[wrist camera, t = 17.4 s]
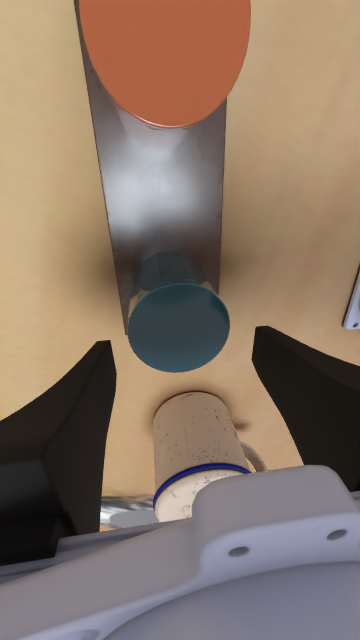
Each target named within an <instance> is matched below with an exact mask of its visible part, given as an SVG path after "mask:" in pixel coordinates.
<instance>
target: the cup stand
mask: <svg viewBox="0 0 360 640" xmlns="http://www.w3.org/2000/svg"><path fill="white" fill-rule="evenodd" d="M74 6H75V12H76V19H77V25H78V31H79V38H80V44H81V51H82V57H83V64H84V70H85V77H86V83H87V90H88V96H89V103H90V109H91V115H92V122H93V128H94V135H95V141H96V148H97V154H98V161H99V167H100V174H101V180H102V186H103V193H104V199H105V206H106V212H107V219H108V225H109V232H110V238H111V245H112V251H113V257H114V264H115V270H116V277H117V283H118V290H119V296H120V303H121V309H122V316H123V322H124V329H125V335H128V332H127V329H128V314H129V306H130V298H131V289H132V281H133V279H134V276H135V274H136V272H137V270H138V268H139V266H140V264H141V263H142V262H144V261H145V260H147V259H148V258H150V257H151V256H153V255H154V254H156V253H159V252H180V253H181V254H183V255H185V256H187V257H189V258H191V259H193V260H194V261H195V262H196V263H197V265H198V266H199V268H200V269H201V271H202V272H203V274H204V275H205V277H206V278H207V280H208V281H209V283H210V284H211V286H212V287H213V289H214V290H215V292H216V294H217V295H218V296H219V274H220V250H221V225H222V201H223V177H224V153H225V129H226V104H227V97H226V98H225V100H224V101H223V102H222V104H221V105H220V107H219V108H218V109H217V110H216V111H215V112H214V113H213V114H212V115H211V116H210V117H209V118H208V119H207V120H206V121H205V122H204V123H203V124H202V125H201V126H200V127H199V128H198V129H197V130H196V131H195V132H194V133H193V134H192V135H191V136H189V137H188V138H187V139H185V140H184V141H183V142H181V143H180V144H178V145H177V146H176V147H173V148H158V149H150V148H148V147H146V146H144V145H143V144H141V143H140V142H138V141H136V140H135V139H133V138H132V137H130V136H129V135H127V134H126V132H125V131H124V129H123V127H122V126H121V124H120V122H119V121H118V119H117V117H116V115H115V114H114V112H113V110H112V109H111V107H110V104H109V102H108V100H107V97H106V95H105V93H104V91H103V88H102V86H101V84H100V81H99V79H98V77H97V74H96V72H95V70H94V68H93V65H92V63H91V60H90V56H89V53H88V50H87V47H86V43H85V40H84V36H83V31H82V26H81V19H80V10H79V0H74Z"/></svg>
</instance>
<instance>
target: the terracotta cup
mask: <svg viewBox="0 0 360 640" xmlns="http://www.w3.org/2000/svg"><path fill="white" fill-rule="evenodd" d="M79 10H80V19H81V26H82V31H83V36H84V40H85V43H86V47H87V50H88V53H89V56H90V60H91V63H92V65H93V68H94V70H95V72H96V74H97V77H98V79H99V81H100V84H101V86H102V88H103V91H104V93H105V95H106V97H107V100H108V102H109V104H110V107H111V109H112V110H113V112H114V114H115V115H116V117H117V119H118V121H119V122H120V124H121V126H122V127H123V129H124V131H125V132H126V134H127V135H129V136H130V137H132V138H133V139H135V140H136V141H138V142H140V143H141V144H143V145H144V146H146V147H148V148H150V149H158V148H173V147H176V146H177V145H178V144H180V143H181V142H183V141H184V140H185V139H187V138H188V137H189V136H191V135H192V134H193V133H194V132H195V131H196V130H197V129H198V128H199V127H200V126H201V125H202V124H203V123H204V122H205V121H206V120H207V119H208V118H209V117H210V116H211V115H212V114H213V113H214V112H215V111H216V110H217V109H218V108H219V107H220V105H221V104H222V102H223V101H224V100H225V98H226V97H227V96H228V94H229V93H230V91H231V90H232V88H233V86H234V84H235V82H236V80H237V78H238V76H239V73H240V71H241V69H242V66H243V62H244V59H245V56H246V51H247V47H248V42H249V34H250V23H251V5H250V0H79Z"/></svg>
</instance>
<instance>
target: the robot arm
mask: <svg viewBox="0 0 360 640" xmlns="http://www.w3.org/2000/svg"><path fill="white" fill-rule="evenodd" d="M354 323H355V324H354ZM353 324H354V325H353ZM343 326H344V328H346V329H348V330H350V329H360V272H359V275H358V278H357V282H356V285H355V288H354V292H353V295H352V298H351V301H350V305H349V308H348V311H347V314H346V318H345V321H344V325H343ZM252 362H253V364H254V367H255V369H256V372H257V374H258V376H259V378H260V380H261V382H262V383H263V385H264V387H265V388H266V390H267V392H268V393H269V395H270V397H271V398H272V400H273V402H274V403H275V405H276V406H277V408H278V410H279V411H280V413H281V415H282V417H283V419H284V421H285V423H286V425H287V427H288V429H289V431H290V433H291V436H292V438H293V440H294V442H295V445H296V447H297V449H298V452H299V454H300V456H301V458H302V461H303V463H304V465H303V466H297V467H290V468H283V469H276V470H269V471H262V472H255V473H248V474H242V475H235V476H228V477H225V478H222V479H218V480H215V481H212V482H210V483H209V484H208V485H206V486H205V487H203V488H202V489H201V490H199V491H198V493H197V494H196V496H195V499H194V501H193V503H192V517H190V518H185V519H179V520H172V521H166V522H160V523H154V524H147V525H141V526H135V527H129V528H122V529H116V530H109V531H103V532H99V530H100V511H101V495H102V481H103V468H104V457H105V446H106V439H107V432H108V427H109V422H110V418H111V413H112V408H113V402H114V397H115V392H116V376H117V373H116V368H115V363H114V357H113V352H112V347H111V341H110V340H105V341H97V342H96V343H95V344H94V345H93V346H92V347H91V349H90V350H89V351H88V352H87V353H86V354H85V355H84V356H83V357H82V359H81V360H80V361H79V362H78V363H77V364H76V365H75V366H74V367H73V368H72V369H71V370H70V371H69V372H68V373H67V374H66V375H65V376H63V377H62V378H61V379H60V380H59V381H58V382H57V383H56V384H54V385H53V386H52V387H51V388H49V389H48V390H47V391H46V392H44V393H43V394H42V395H40V396H39V397H37V398H36V399H34V400H33V401H32V402H30V403H29V404H27V405H26V406H24V407H23V408H21V409H20V410H18V411H16V412H15V413H13V414H11V415H10V416H8V417H6V418H5V419H3V420H1V421H0V640H360V366H357V365H354V364H351V363H348V362H345V361H343V360H340V359H337V358H335V357H332V356H329V355H327V354H325V353H322V352H320V351H318V350H316V349H314V348H311V347H309V346H307V345H305V344H303V343H301V342H299V341H297V340H295V339H293V338H291V337H289V336H288V335H286V334H284V333H282V332H280V331H278V330H276V329H274V328H272V327H269V326H258V327H256V328H255V336H254V345H253V353H252Z"/></svg>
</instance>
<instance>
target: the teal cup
mask: <svg viewBox="0 0 360 640" xmlns="http://www.w3.org/2000/svg"><path fill="white" fill-rule="evenodd" d="M229 329H230V320H229V314H228V311H227V309H226V307H225V305H224V303H223V302H222V300H221V299H220V297H219V296H218V295H217V294H216V292H215V290H214V289H213V287H212V286H211V284H210V283H209V281H208V280H207V278H206V277H205V275H204V274H203V272H202V271H201V269H200V268H199V266H198V265H197V263H196V262H195V261H194V260H193V259H191V258H189V257H187V256H185V255H183V254H181V253H180V252H159V253H156V254H154V255H153V256H151V257H150V258H148V259H147V260H145V261H144V262H142V263H141V264H140V266H139V268H138V270H137V272H136V274H135V276H134V279H133V281H132V289H131V298H130V306H129V314H128V329H127V332H128V339H129V343H130V345H131V348H132V349H133V351H134V353H135V354H136V355H137V357H138V358H139V359H140V360H141V361H143V362H144V363H145V364H147V365H148V366H150V367H152V368H155V369H157V370H160V371H165V372H174V373H176V372H186V371H190V370H194V369H197V368H199V367H201V366H203V365H205V364H207V363H208V362H210V361H211V360H212V359H213V358H215V356H216V355H217V354H218V353H219V352H220V351H221V350H222V348H223V346H224V345H225V343H226V341H227V338H228V335H229Z"/></svg>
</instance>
